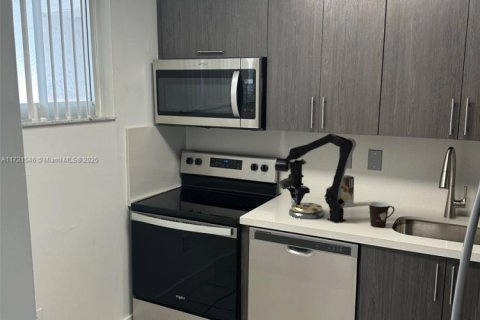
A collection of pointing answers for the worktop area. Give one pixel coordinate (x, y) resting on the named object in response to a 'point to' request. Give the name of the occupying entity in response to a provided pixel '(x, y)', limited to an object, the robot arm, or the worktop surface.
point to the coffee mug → (379, 214)
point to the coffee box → (348, 190)
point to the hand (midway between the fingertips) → (295, 203)
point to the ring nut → (305, 207)
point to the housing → (306, 215)
